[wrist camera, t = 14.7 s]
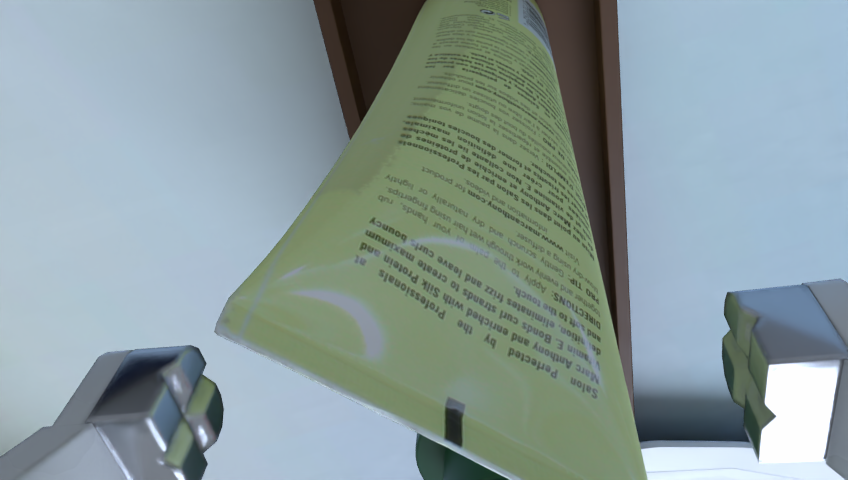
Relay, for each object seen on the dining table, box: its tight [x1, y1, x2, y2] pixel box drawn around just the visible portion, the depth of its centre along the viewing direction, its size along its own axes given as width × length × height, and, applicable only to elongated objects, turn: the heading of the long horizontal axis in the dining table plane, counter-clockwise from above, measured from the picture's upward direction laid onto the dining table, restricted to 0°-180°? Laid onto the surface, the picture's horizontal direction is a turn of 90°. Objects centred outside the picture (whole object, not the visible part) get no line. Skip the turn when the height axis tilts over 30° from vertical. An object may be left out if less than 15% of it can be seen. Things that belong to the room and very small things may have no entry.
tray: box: [313, 0, 635, 420], centre depth 30 cm, size 25×10×2 cm, turn 11°
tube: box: [214, 0, 648, 480], centre depth 18 cm, size 6×5×20 cm
